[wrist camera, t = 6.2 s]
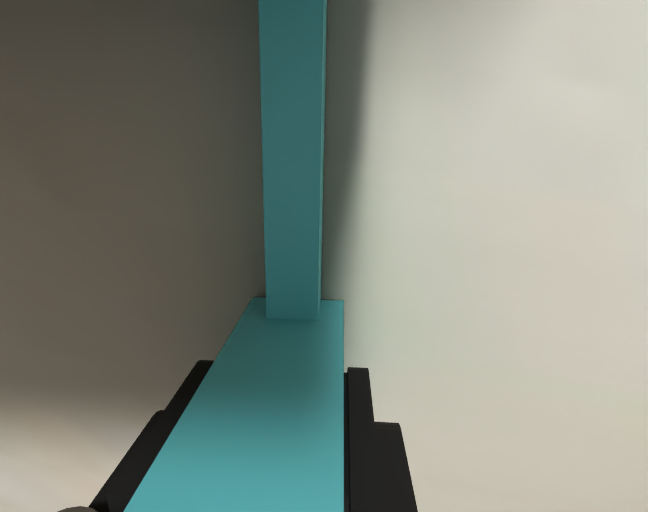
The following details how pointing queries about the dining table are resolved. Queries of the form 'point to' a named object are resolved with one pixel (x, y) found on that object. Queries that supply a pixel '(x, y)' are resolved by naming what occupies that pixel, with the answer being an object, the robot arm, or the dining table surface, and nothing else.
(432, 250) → the dining table surface
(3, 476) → the dining table surface
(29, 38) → the dining table surface
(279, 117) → the scraper
